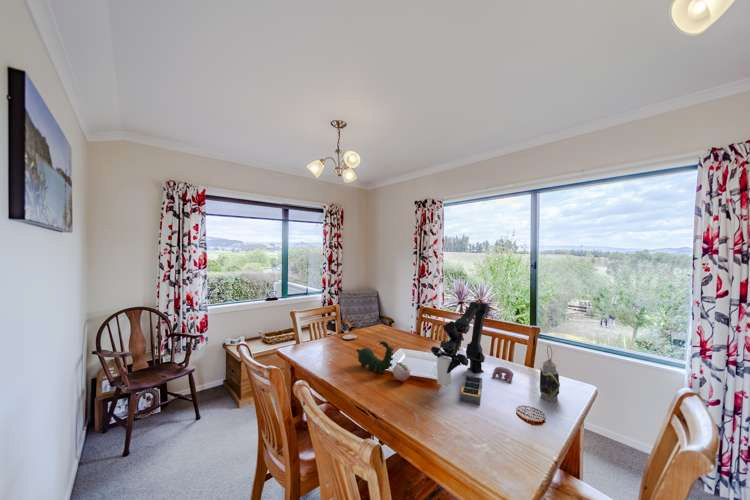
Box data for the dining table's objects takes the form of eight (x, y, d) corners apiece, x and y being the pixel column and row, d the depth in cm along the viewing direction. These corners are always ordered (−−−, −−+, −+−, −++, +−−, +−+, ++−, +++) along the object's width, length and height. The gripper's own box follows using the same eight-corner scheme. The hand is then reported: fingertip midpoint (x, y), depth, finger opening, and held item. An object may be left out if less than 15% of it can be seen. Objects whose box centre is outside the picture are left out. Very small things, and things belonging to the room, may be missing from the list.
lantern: (537, 392, 138) (537, 341, 137) (556, 394, 135) (556, 343, 135) (542, 401, 129) (542, 347, 129) (562, 404, 127) (563, 349, 127)
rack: (464, 381, 148) (464, 374, 148) (482, 384, 145) (482, 377, 145) (460, 401, 129) (460, 392, 129) (480, 405, 126) (480, 396, 126)
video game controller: (513, 384, 149) (514, 370, 151) (510, 383, 146) (512, 369, 148) (493, 378, 155) (496, 365, 158) (491, 377, 152) (493, 363, 155)
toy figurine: (394, 374, 160) (359, 360, 174) (397, 342, 159) (362, 330, 173) (385, 380, 152) (350, 365, 167) (388, 346, 151) (352, 334, 165)
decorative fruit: (389, 381, 149) (389, 362, 148) (398, 375, 155) (398, 357, 154) (403, 387, 142) (403, 367, 142) (412, 381, 148) (412, 362, 148)
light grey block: (441, 380, 141) (441, 355, 141) (450, 384, 138) (450, 358, 137) (437, 383, 138) (437, 358, 138) (446, 387, 135) (446, 361, 135)
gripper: (432, 330, 147) (419, 357, 139) (465, 339, 134) (453, 369, 126) (440, 341, 153) (429, 368, 145) (473, 351, 139) (462, 380, 132)
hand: (442, 371), depth 137 cm, fingers closed on light grey block, 5 cm apart
